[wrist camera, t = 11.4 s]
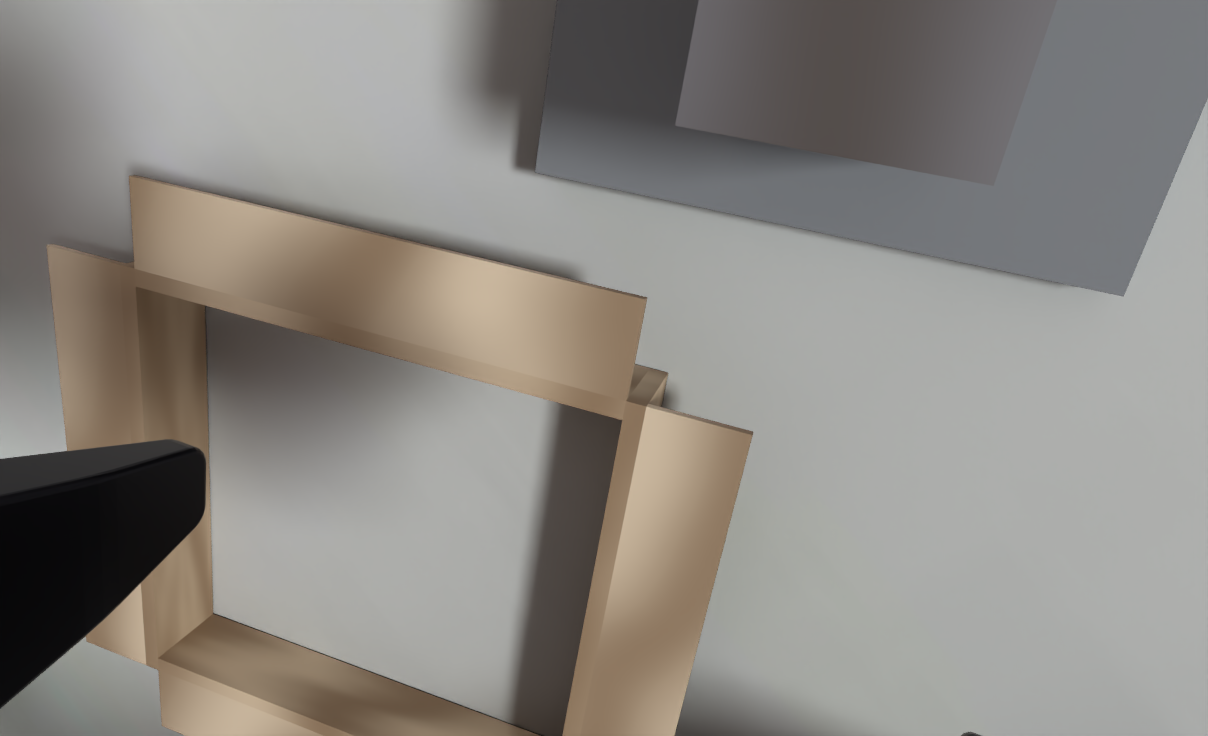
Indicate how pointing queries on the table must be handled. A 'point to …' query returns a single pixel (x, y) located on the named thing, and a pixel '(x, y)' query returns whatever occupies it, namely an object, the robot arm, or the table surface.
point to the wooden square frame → (419, 335)
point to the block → (867, 78)
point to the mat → (893, 195)
